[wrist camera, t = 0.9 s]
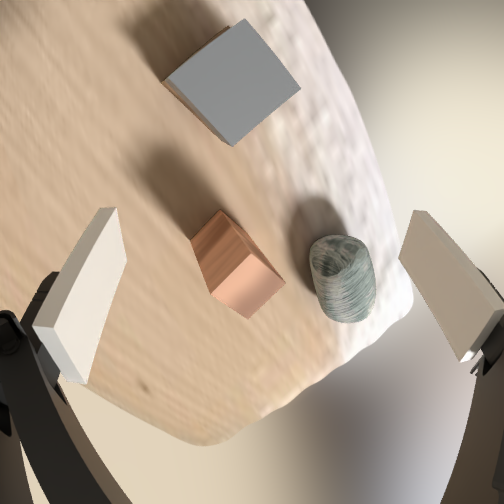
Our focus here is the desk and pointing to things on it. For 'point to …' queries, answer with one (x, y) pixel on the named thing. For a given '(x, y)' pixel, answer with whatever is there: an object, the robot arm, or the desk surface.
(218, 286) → the tall block
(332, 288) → the spool
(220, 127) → the top slab
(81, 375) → the robot arm
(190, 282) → the desk surface
